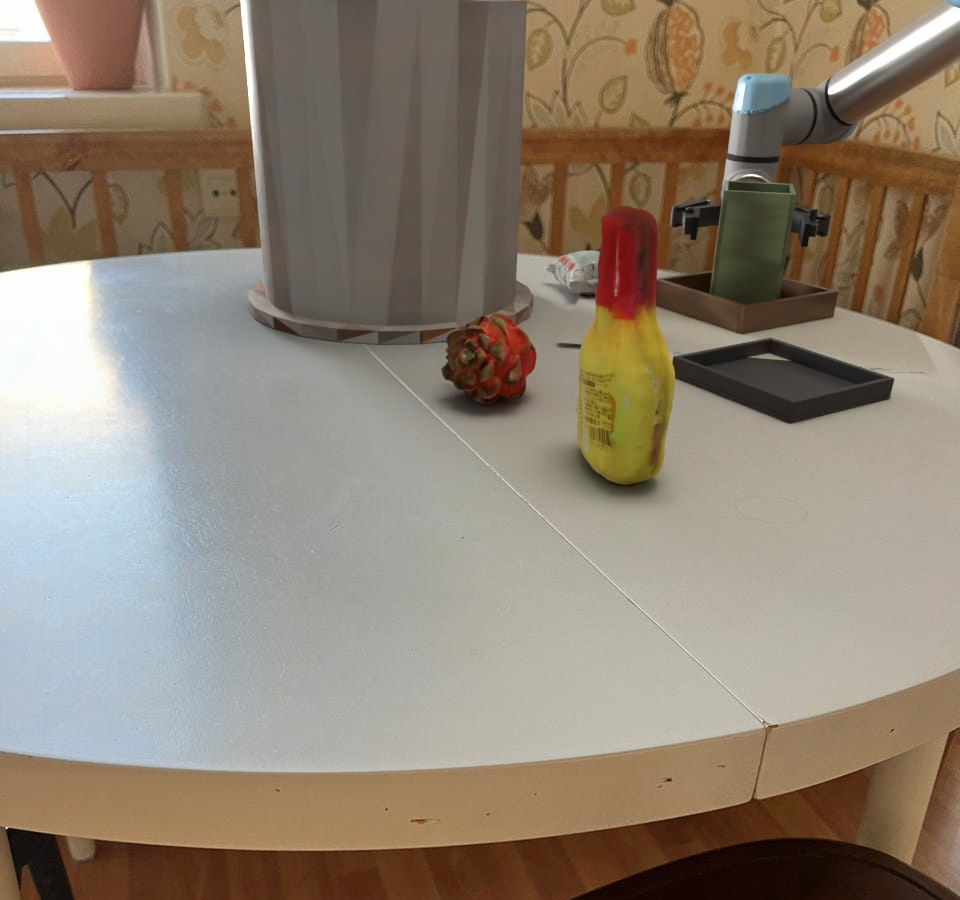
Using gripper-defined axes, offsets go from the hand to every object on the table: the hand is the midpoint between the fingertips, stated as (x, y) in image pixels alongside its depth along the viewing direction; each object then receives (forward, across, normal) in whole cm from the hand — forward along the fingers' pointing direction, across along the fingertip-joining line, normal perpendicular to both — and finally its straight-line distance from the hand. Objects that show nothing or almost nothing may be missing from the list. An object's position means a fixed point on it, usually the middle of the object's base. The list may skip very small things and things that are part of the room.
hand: (749, 232), depth 130 cm
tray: (+34, -4, -8) cm, 35 cm away
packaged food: (+1, +20, -9) cm, 22 cm away
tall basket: (+7, 0, -8) cm, 10 cm away
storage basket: (+14, +42, -9) cm, 45 cm away
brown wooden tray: (+7, 0, -8) cm, 11 cm away
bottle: (+60, +10, -9) cm, 61 cm away
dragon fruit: (+45, +24, -9) cm, 52 cm away
